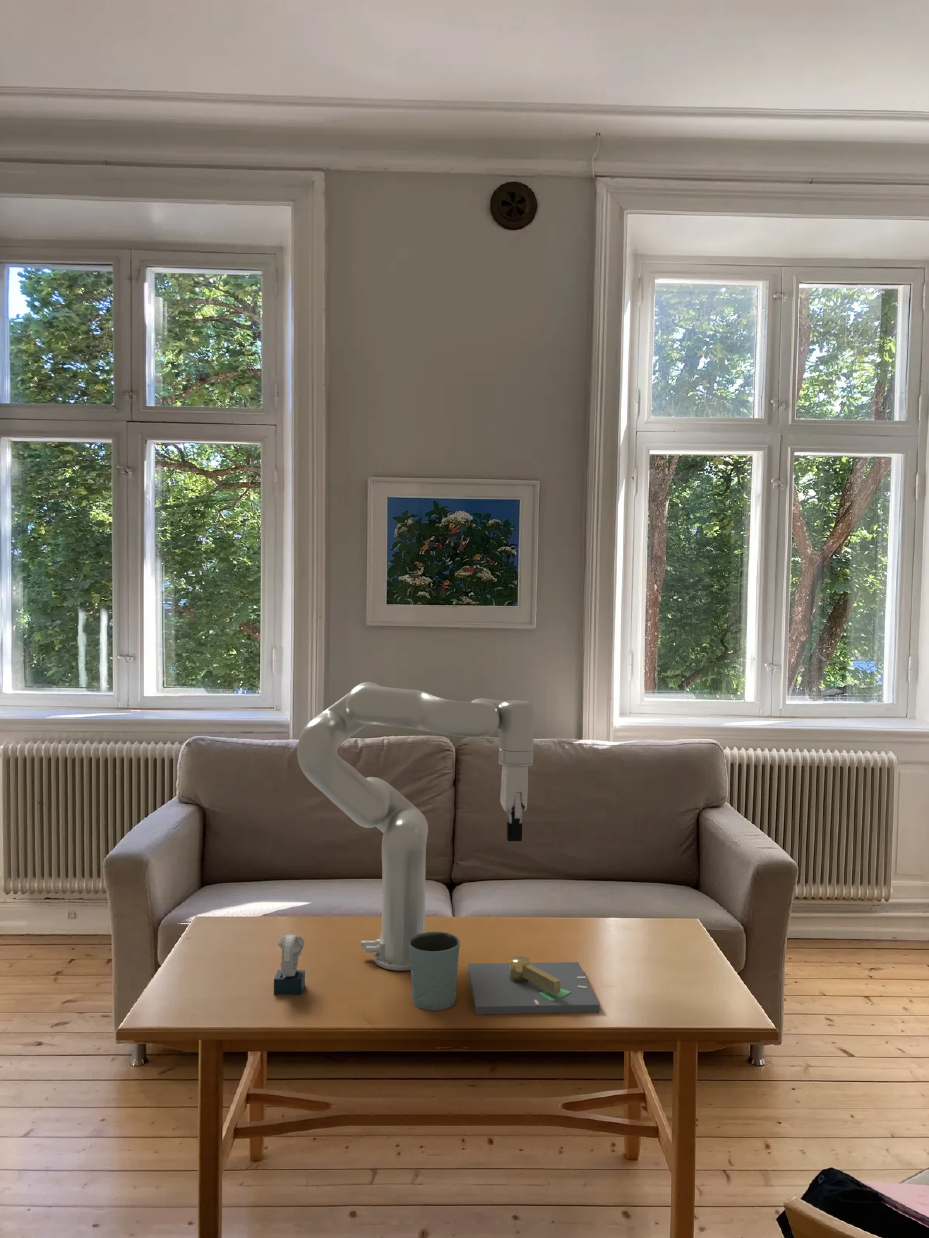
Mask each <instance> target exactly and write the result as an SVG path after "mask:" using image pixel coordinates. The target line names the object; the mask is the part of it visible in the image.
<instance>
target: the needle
mask: <svg viewBox="0 0 929 1238" xmlns="http://www.w3.org/2000/svg"><path fill="white" fill-rule="evenodd" d="M509 963H510V979H511V980H512V981H515V982H526V981H528V980H529V981H531V982H533V983H534V984H536V985H538V986H540V987H542V988H543V989H545V990H547V991H549V992H551V993H553V994H557V993H560V981H561V980H559V979H557V978H555V977H553V976H551V975H550V974H548V973H546V972H544V971H542V970H540V969H538V968H536V967H534V966H532V965H531V964H529V963H530V958H528V957H526V956H523V955H513V956H512V957H510V958H509Z"/></svg>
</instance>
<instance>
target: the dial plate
mask: <svg viewBox="0 0 929 1238" xmlns="http://www.w3.org/2000/svg"><path fill="white" fill-rule="evenodd" d="M529 964H531V965H532V966H534V967H536V968H538V969H540V970H542V971H544V972H546V973H548V974H550V975H551V976H553V977H555V978H557V979H559V980H561V981H560V993H557V994H553V993H551V992H549V991H547V990H545V989H543V988H542V987H540V986H538V985H536V984H534V983H533V982H531V981H529V980H528V981H526V982H515V981H512V980H511V979H510V962H497V963H496V962H495V963H493V962H492V963H491V962H490V963H489V962H488V963H487V962H486V963H485V962H484V963H479V962H478V963H468V964H467V972H468V977H469V982H470V989H471V994H472V1000H473V1005H474V1011H475V1015H510V1014H511V1015H512V1014H513V1015H515V1014H516V1015H517V1014H519V1015H521V1014H525V1015H526V1014H569V1013H570V1014H574V1013H575V1014H577V1013H578V1014H579V1013H581V1014H582V1013H600V1003H599V1002H598V1000H597V998H596V996H595V993H594V991H593V989H592V987H591V985H590V983H589V982H588V981H589V980H588V979H587V976H586V975H585V972H584V971H583V969H582V967H581V965H580V963H579V962H578V961H577V962H575V961H574V962H573V961H567V962H566V961H565V962H562V961H561V962H560V961H559V962H557V961H556V962H529Z"/></svg>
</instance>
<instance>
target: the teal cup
mask: <svg viewBox="0 0 929 1238" xmlns="http://www.w3.org/2000/svg"><path fill="white" fill-rule="evenodd" d="M460 946H461V941H460V939H459V938H458V936H456V935H454V934H451V933H450V932H449V933H448V932H443V931H425V933H421V934H417V935H415V936H413V937H412V938H411V939H410V940H409V954H410V964H411V969H412V970H410V975H411V976H410V979H411V985H412V986H411V989H412V990H411V991H412V993H411V994H412V995H411V996H412V1002H413V1005H415V1006H416V1007H418V1008H419V1009H423V1010H427V1011H441V1010H446V1009H449V1008H451V1007H452V1006H454V1004H455V1002H456V998H457V992H456V991H457V985H458V983H457V979H458V967H459V957H460V956H459V955H460Z"/></svg>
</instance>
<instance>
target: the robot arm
mask: <svg viewBox="0 0 929 1238" xmlns="http://www.w3.org/2000/svg"><path fill="white" fill-rule="evenodd" d="M534 710H535V707H534V705H533V703H532V702H530V701H528V700H522V699H521V700H519V699H518V700H517V699H514V700H513V699H511V700H500V699H499V700H497V699H492V698H485V697H480V698H479V697H478V698H475V699H473V700H471V701H463V700H462V701H461V700H455V699H454V700H453V699H446V698H442V697H438V696H437V695H436V696H435V695H433V694H431V693H429V692H426V691H423V690H418V689H409V688H408V689H407V688H406V689H405V688H398V687H387V686H381V685H379V684H378V683H375V682H371V681H367V682H361V683H359V684H357V685H356V686H354V687H353V688H351V690H350V691H349V692H348V693H347V694H345V695H344V696H343V697H341V698H340V699H339V700H337V701H336V702H334V704H331V706H329V707H328V708H326V709H325V710H324V711H322V712H321V713H319V714H318V715H316V716H315V717H313V718H312V719H311V720H310V721H308V722H307V724H306V725H305V726H304V727H303V729H302V730H301V733H300V735H299V738H298V743H297V749H296V754H297V755H296V757H297V761H298V764H299V767H300V770H301V771H302V773H303V774H304V776H305V777H306V778H307V780H309V782H310V783H311V784H312V785H313V786H314V787H316V789H318V790H319V791H320V792H321V793H323V794H324V795H325V797H327V798H328V799H329V801H331V802H332V803H333V804H334V805H335V806H337V808H339V809H340V811H342V812H343V813H344V814H345V815H347V817H349V818H350V819H351V820H352V821H353V823H356V824H357V825H358V826H360V827H362V828H366V829H371V828H375V827H376V828H377V829H378V830H379V831H380V832H381V833H383V835H382V841H381V867H382V870H381V876H382V880H381V882H382V883H381V934H380V935H379V938H375V940H369V939H366V940H365V939H363V940H362V939H361V940H360V950H361V951H362V950H365V953H367V954H368V953H369V954H371V953H372V954H373V953H374V954H373V961H374V963H375V964H376V965H378V966H379V967H380V968H383V969H385V970H390V971H398V972H400V971H401V972H402V971H403V972H407V971H412V969H411V964H410V954H409V940H410V939H411V938H412V937H413V936H415V935H417V934H421V933H426V926H425V925H426V872H427V871H426V870H427V868H426V865H427V864H426V862H427V861H426V860H427V859H426V858H427V856H426V855H427V843H428V841H427V839H428V836H429V835H428V834H429V825H428V820H427V818H426V817H425V815H424V814H423V813H422V811H420V809H419V808H417V806H415V805H414V804H413V803H412V802H411V801H410V800H408V798H406V797H405V796H404V795H403V794H401V793H400V792H399V791H398V790H397V789H396V788H394V787H393V786H392V785H391V784H390V783H388V782H387V781H386V780H384V779H381V778H380V777H374V776H369V777H365V776H364V775H362V774H361V773H360V772H359V771H358V770H356V768H355V767H354V766H353V765H351V764H350V763H349V762H347V761H346V760H344V759H343V757H341V756H340V755H339V753H338V749H339V747H340V746H342V744H343V743H345V742H346V741H348V739H349V738H351V737H352V736H354V735H355V734H356V733H358V732H359V731H360V730H363V728H365V727H366V726H367V725H374V726H380V727H381V726H383V727H391V728H393V727H394V728H401V729H411V730H418V731H422V732H428V733H436V734H439V735H448V736H453V737H454V736H455V737H461V738H463V737H465V738H474V739H483V738H487V737H491V736H492V735H494V734H495V733H496V731H498V734H499V735H498V764H499V765H501V766H502V767H501V782H500V783H501V784H500V799H499V801H500V804H501V805H500V806H501V807H502V809H503V810H504V812H506V813H507V821H506V840H507V842H522V841H523V822H522V821H523V813H524V812H526V811H527V808H528V794H529V793H528V791H529V785H528V784H529V770H528V769H529V768H528V767H531V766H533V765H534V725H535V723H534V722H535V720H534V719H535V712H534Z"/></svg>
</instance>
